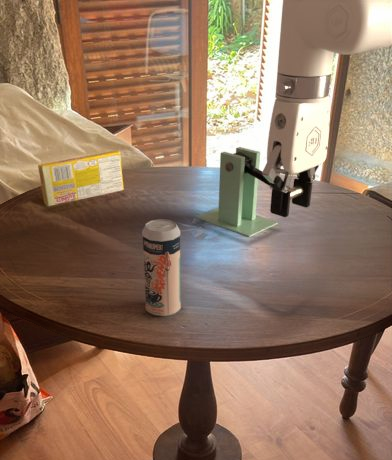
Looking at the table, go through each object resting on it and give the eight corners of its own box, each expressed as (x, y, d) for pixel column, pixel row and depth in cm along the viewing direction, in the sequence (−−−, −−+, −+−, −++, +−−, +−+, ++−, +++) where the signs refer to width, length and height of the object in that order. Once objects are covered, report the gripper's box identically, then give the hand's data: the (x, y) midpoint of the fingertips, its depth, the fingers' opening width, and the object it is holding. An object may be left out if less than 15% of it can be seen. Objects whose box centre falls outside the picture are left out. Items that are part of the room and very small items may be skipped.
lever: (302, 198, 92) (306, 185, 90) (283, 206, 89) (288, 192, 87) (241, 163, 97) (244, 149, 96) (222, 169, 94) (225, 156, 93)
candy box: (119, 191, 114) (116, 149, 110) (124, 194, 113) (122, 152, 108) (43, 208, 106) (37, 163, 102) (48, 211, 105) (42, 166, 100)
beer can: (138, 308, 77) (133, 224, 70) (166, 297, 79) (164, 215, 72) (159, 322, 74) (157, 236, 67) (188, 310, 76) (188, 226, 70)
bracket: (277, 229, 100) (284, 154, 92) (248, 242, 95) (254, 165, 88) (225, 211, 106) (228, 140, 99) (196, 222, 101) (197, 149, 94)
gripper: (289, 99, 74) (277, 231, 84) (356, 82, 84) (338, 202, 94) (244, 91, 78) (238, 218, 88) (313, 76, 88) (300, 191, 99)
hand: (290, 208), depth 91 cm, fingers closed on lever, 5 cm apart
